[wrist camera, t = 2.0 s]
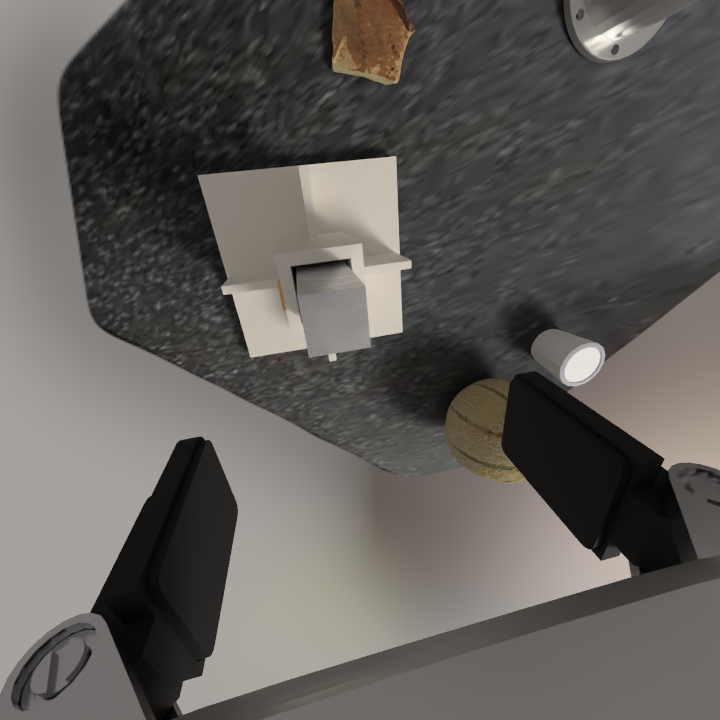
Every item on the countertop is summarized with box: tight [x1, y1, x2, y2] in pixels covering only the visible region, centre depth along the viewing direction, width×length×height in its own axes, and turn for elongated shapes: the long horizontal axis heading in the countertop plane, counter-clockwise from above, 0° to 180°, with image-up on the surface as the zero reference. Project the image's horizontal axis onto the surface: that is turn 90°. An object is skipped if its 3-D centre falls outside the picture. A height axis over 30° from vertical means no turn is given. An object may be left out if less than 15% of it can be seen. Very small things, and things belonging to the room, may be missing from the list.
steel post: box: [296, 259, 371, 358], centre depth 27 cm, size 4×4×18 cm
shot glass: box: [531, 329, 605, 386], centre depth 46 cm, size 7×7×7 cm
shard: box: [332, 0, 415, 85], centre depth 28 cm, size 11×8×2 cm
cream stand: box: [198, 156, 411, 361], centre depth 32 cm, size 20×20×14 cm
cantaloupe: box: [445, 378, 526, 483], centre depth 45 cm, size 15×15×15 cm
